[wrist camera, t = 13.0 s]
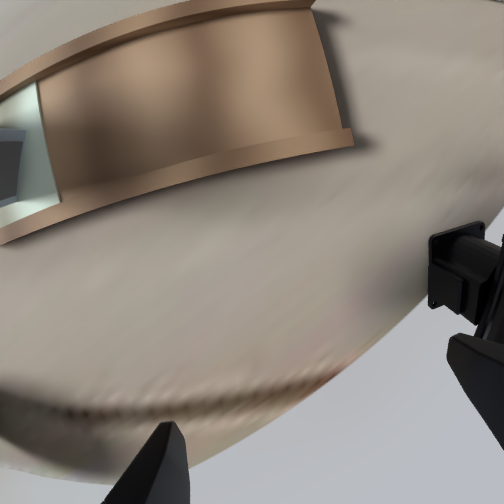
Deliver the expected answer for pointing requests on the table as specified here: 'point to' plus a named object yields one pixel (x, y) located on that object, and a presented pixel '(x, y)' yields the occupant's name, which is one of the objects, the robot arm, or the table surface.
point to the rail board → (166, 105)
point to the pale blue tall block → (10, 164)
